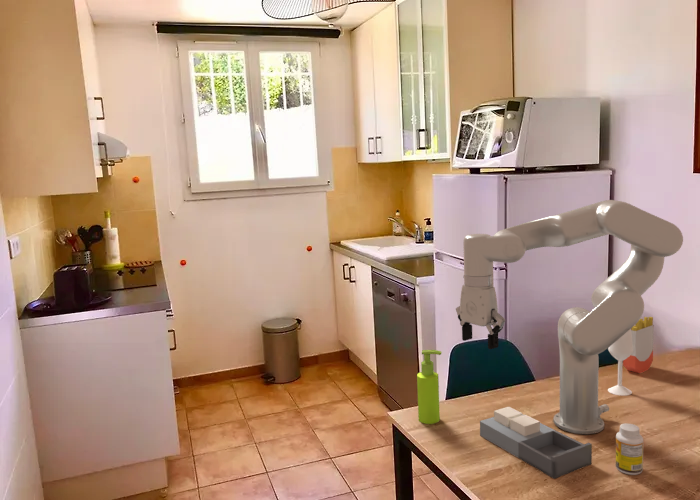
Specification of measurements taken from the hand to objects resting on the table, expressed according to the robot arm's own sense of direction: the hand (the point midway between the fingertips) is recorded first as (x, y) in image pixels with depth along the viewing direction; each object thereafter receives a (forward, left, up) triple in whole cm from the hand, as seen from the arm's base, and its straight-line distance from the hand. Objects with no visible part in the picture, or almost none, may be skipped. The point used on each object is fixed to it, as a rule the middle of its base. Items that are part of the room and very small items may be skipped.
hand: (479, 343), depth 153 cm
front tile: (-1, +15, -19) cm, 24 cm away
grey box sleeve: (-1, +12, -23) cm, 26 cm away
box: (-1, +25, -23) cm, 33 cm away
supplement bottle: (-12, +36, -23) cm, 44 cm away
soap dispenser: (+10, -10, -23) cm, 27 cm away
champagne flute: (-49, +5, -23) cm, 55 cm away
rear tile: (-1, +9, -19) cm, 21 cm away
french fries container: (-69, -4, -23) cm, 73 cm away
